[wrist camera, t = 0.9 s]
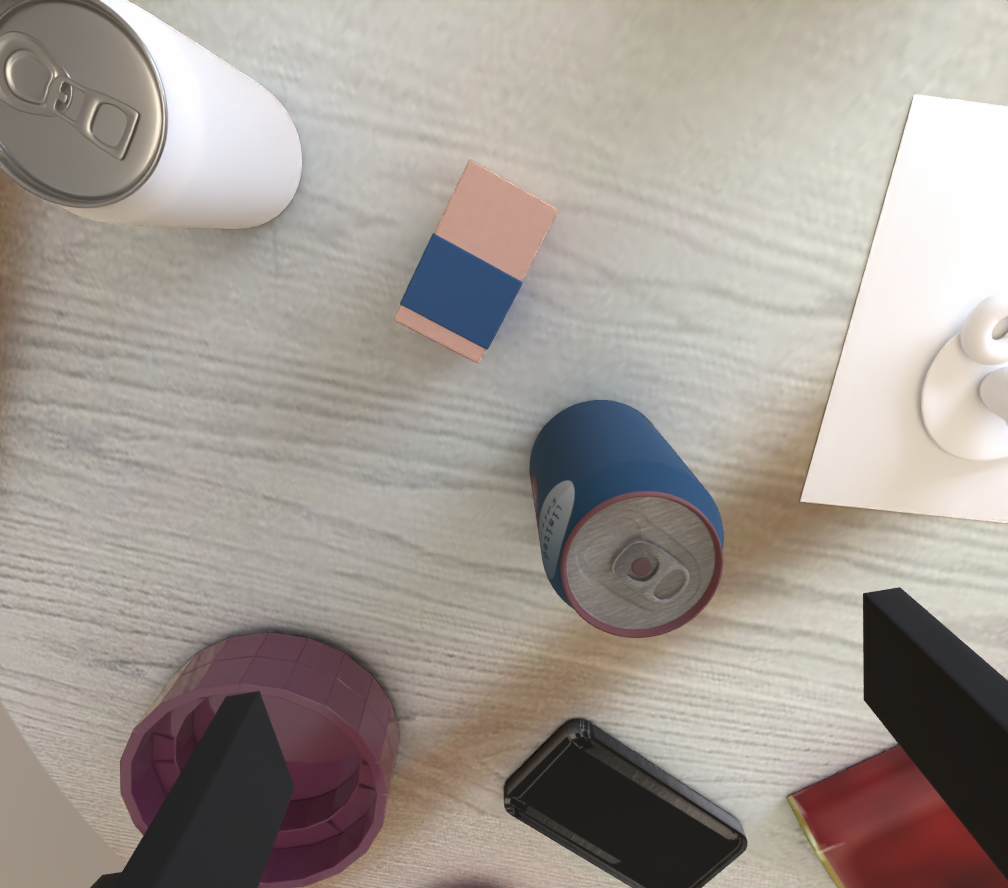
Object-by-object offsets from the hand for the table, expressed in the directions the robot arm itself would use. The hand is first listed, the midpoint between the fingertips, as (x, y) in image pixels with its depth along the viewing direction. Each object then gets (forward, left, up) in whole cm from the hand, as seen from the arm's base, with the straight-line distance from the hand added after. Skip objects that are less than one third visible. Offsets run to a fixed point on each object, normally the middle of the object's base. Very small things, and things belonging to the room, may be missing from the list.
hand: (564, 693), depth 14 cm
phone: (+18, -20, -20) cm, 34 cm away
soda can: (+4, 0, -21) cm, 21 cm away
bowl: (-4, -24, -20) cm, 32 cm away
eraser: (-6, +6, -20) cm, 22 cm away
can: (-18, +5, -21) cm, 28 cm away
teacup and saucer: (+21, +16, -21) cm, 34 cm away
